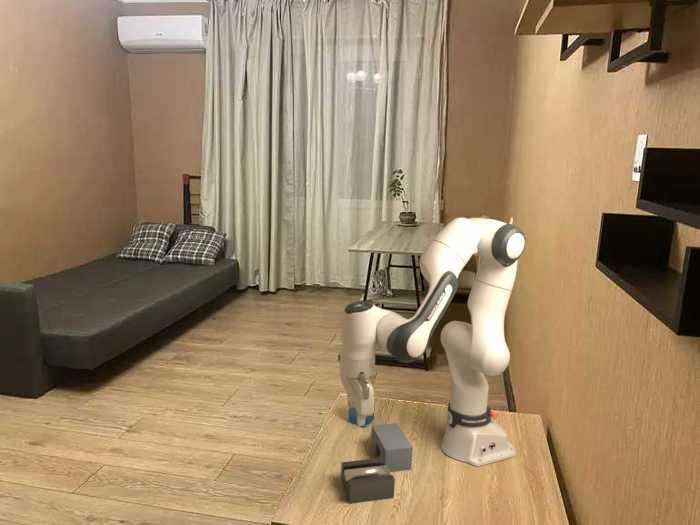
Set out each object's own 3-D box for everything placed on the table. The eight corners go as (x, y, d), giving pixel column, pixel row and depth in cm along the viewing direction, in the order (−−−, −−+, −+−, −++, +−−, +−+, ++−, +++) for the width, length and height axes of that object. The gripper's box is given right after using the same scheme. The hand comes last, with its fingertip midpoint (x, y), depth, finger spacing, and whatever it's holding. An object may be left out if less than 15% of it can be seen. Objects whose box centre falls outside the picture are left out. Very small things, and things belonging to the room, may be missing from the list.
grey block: (395, 443, 164) (396, 422, 162) (411, 469, 150) (412, 447, 149) (370, 445, 162) (371, 425, 160) (384, 472, 148) (385, 450, 147)
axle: (386, 474, 143) (386, 463, 143) (390, 478, 140) (390, 467, 140) (344, 479, 140) (343, 468, 140) (346, 483, 137) (346, 472, 137)
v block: (382, 475, 147) (383, 457, 146) (393, 497, 138) (394, 479, 137) (340, 480, 144) (341, 462, 143) (349, 503, 135) (350, 484, 134)
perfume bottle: (348, 422, 175) (349, 389, 173) (358, 415, 180) (360, 382, 178) (363, 428, 172) (365, 394, 169) (373, 420, 177) (375, 388, 174)
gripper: (381, 381, 124) (379, 434, 126) (359, 349, 143) (357, 396, 146) (355, 383, 122) (354, 437, 125) (336, 351, 141) (335, 398, 144)
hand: (355, 415), depth 136 cm, fingers open, 8 cm apart
